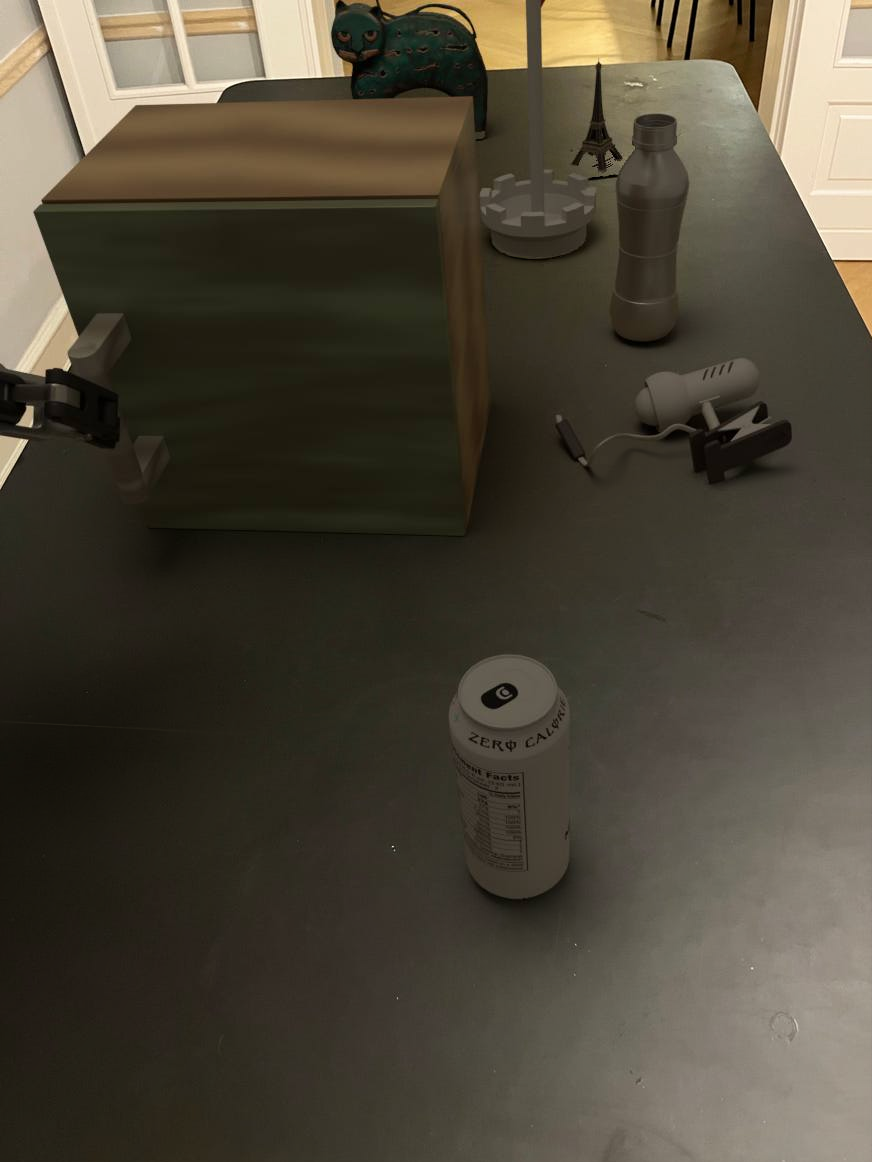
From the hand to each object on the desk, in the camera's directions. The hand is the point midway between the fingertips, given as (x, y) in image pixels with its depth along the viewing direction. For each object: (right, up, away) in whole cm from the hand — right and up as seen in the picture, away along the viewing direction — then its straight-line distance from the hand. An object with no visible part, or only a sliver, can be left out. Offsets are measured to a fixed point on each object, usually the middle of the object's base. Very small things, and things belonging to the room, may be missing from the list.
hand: (45, 431), depth 64 cm
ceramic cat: (+18, +57, +81) cm, 100 cm away
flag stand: (+34, +33, +56) cm, 73 cm away
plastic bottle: (+43, +17, +39) cm, 61 cm away
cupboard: (+14, +3, +27) cm, 30 cm away
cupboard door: (+12, -6, +18) cm, 23 cm away
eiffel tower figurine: (+42, +48, +71) cm, 96 cm away
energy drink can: (+29, -26, -3) cm, 39 cm away
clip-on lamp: (+43, +3, +25) cm, 50 cm away
